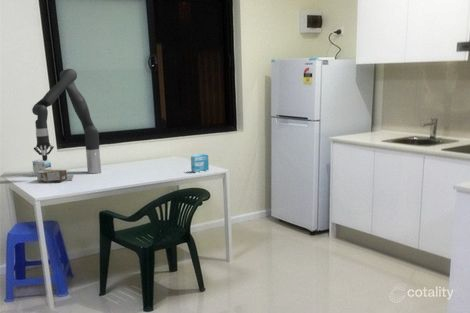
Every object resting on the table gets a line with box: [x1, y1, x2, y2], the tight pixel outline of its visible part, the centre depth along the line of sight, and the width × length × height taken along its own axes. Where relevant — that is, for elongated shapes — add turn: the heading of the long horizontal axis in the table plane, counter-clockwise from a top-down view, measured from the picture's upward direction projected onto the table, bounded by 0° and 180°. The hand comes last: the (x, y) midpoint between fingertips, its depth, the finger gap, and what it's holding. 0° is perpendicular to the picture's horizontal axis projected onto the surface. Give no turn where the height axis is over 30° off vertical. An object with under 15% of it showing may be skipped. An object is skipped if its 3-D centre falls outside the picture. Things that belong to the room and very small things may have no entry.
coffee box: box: [36, 169, 68, 183], centre depth 290 cm, size 9×6×16 cm
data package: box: [190, 153, 210, 173], centre depth 312 cm, size 12×4×12 cm, turn 126°
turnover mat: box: [45, 174, 74, 184], centre depth 296 cm, size 16×16×1 cm
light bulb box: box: [32, 159, 53, 177], centre depth 309 cm, size 11×7×11 cm, turn 74°
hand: (45, 160), depth 292 cm, fingers closed
